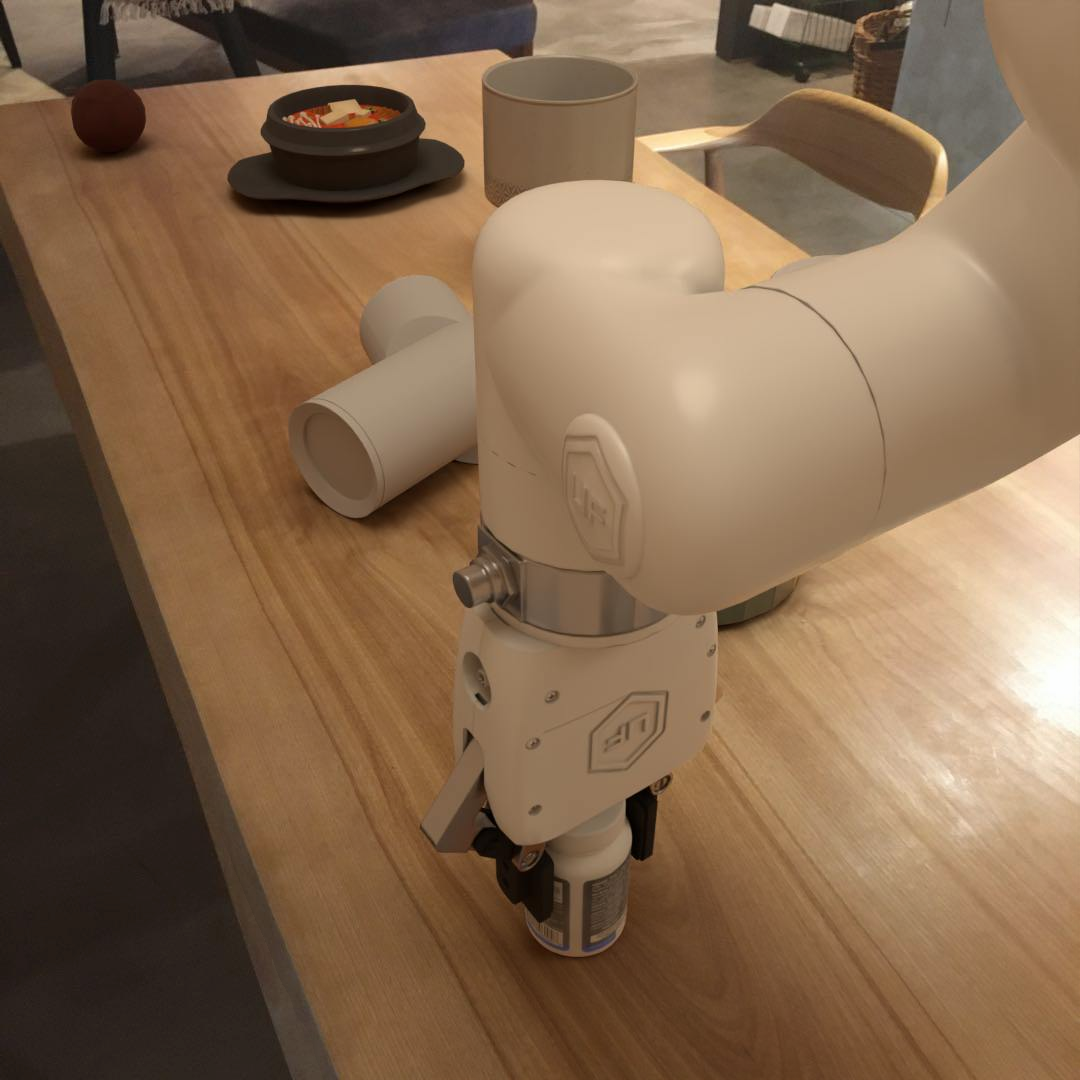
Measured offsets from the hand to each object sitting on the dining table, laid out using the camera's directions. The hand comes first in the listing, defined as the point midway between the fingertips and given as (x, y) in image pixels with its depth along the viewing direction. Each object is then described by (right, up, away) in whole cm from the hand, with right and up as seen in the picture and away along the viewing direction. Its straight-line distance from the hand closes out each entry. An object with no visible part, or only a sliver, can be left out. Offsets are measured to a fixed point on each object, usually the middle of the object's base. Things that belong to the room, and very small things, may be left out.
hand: (576, 864), depth 52 cm
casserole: (-22, +52, +73) cm, 93 cm away
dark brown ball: (-50, +59, +82) cm, 112 cm away
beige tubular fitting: (-11, +21, +34) cm, 41 cm away
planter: (0, +39, +56) cm, 68 cm away
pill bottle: (0, -3, +2) cm, 4 cm away
